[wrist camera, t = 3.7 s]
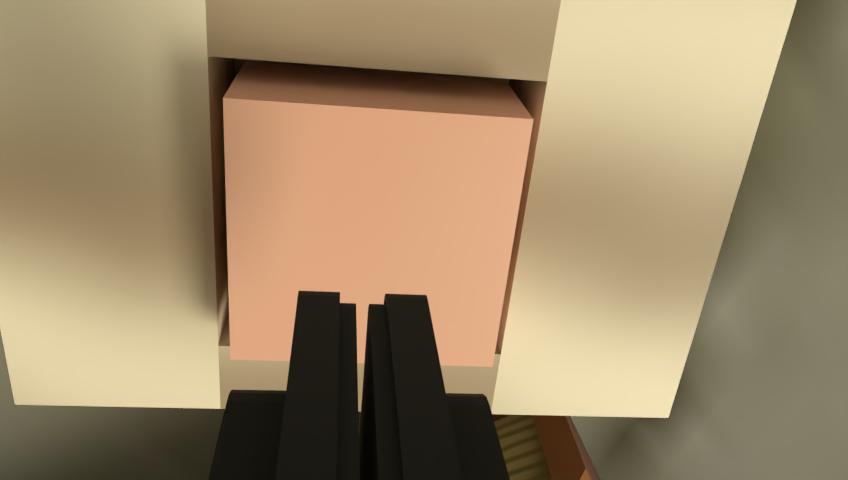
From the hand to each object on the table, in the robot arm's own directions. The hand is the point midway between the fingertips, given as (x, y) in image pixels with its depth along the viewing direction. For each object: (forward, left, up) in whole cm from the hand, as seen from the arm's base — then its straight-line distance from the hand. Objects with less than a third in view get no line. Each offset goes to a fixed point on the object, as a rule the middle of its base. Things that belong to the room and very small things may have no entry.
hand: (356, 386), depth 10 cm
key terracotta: (0, 0, -6) cm, 6 cm away
